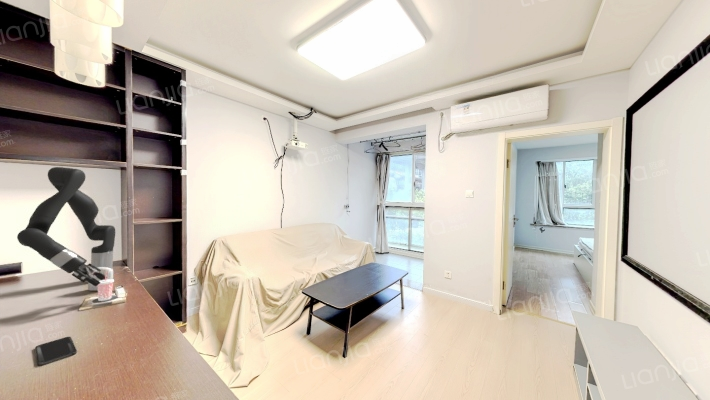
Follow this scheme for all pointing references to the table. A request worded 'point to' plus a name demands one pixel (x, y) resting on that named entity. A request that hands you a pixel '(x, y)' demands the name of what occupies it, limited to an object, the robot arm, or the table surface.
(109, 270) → the photo printer
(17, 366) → the table surface
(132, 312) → the table surface
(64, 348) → the phone
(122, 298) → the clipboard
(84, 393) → the table surface
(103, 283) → the beverage cup
